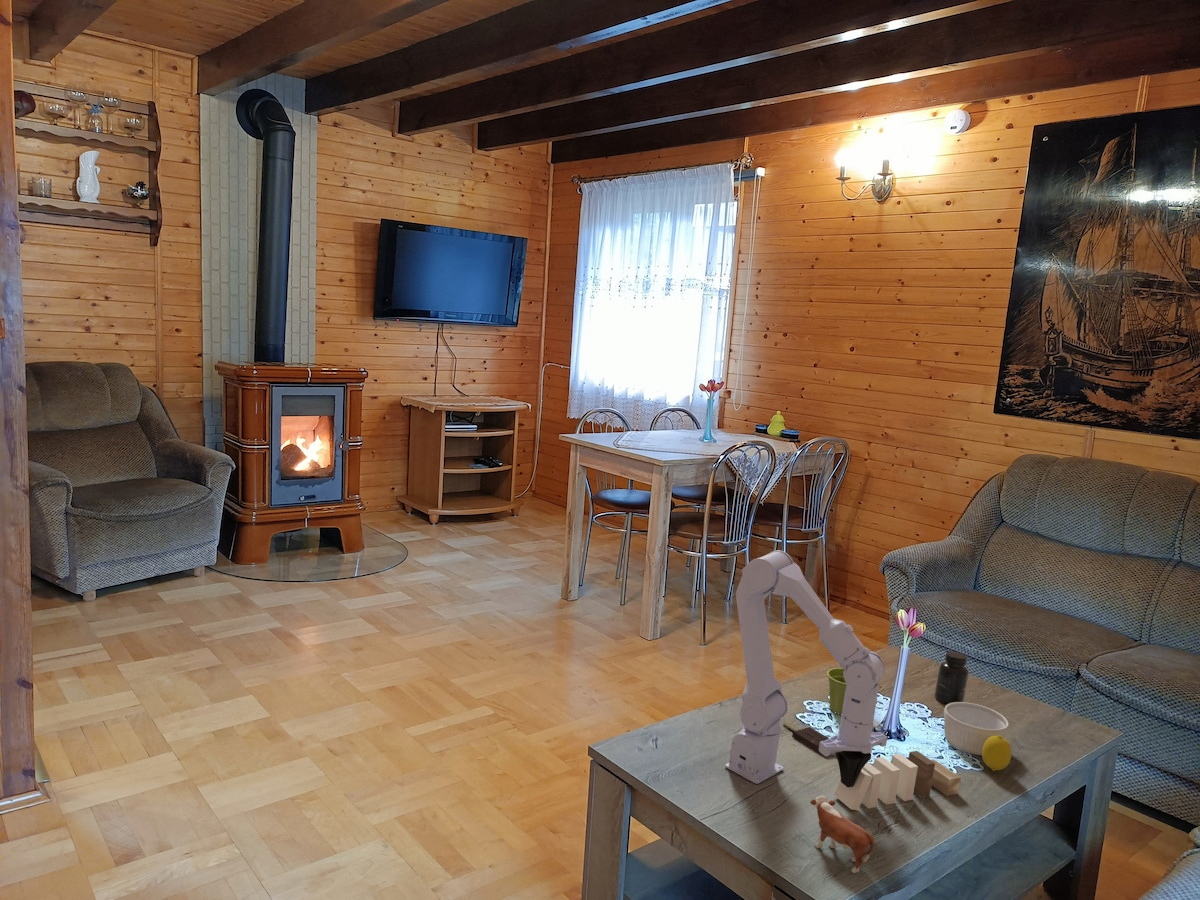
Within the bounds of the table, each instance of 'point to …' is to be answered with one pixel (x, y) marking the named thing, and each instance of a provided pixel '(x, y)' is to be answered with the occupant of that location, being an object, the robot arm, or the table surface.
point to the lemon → (996, 752)
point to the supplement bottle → (952, 679)
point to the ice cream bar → (807, 736)
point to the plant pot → (836, 689)
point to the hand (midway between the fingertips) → (847, 784)
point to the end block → (945, 779)
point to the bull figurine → (842, 832)
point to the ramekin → (972, 725)
